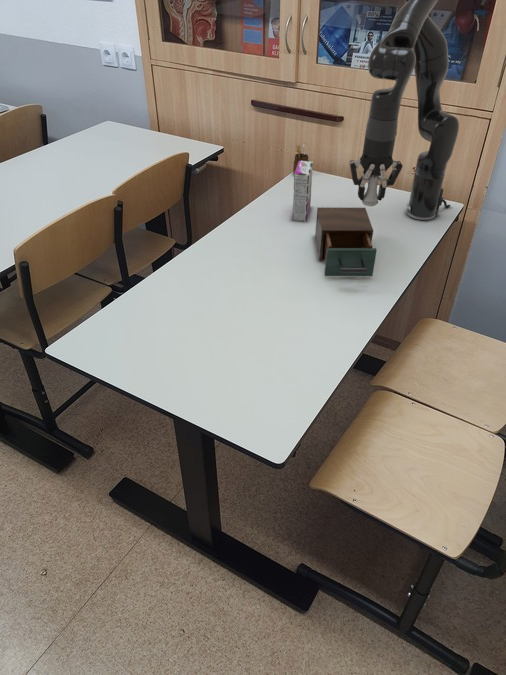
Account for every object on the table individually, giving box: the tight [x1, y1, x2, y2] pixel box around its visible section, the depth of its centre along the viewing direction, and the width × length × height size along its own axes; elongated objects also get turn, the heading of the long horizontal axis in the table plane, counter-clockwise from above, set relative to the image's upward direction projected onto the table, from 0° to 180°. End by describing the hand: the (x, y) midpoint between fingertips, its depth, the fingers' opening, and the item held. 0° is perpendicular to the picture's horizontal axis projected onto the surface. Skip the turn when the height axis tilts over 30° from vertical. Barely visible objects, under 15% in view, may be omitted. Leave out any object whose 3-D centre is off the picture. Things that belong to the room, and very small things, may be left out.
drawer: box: [323, 233, 377, 277], centre depth 150 cm, size 19×13×8 cm
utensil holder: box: [292, 144, 309, 174], centre depth 205 cm, size 6×6×12 cm
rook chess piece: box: [361, 175, 380, 207], centre depth 143 cm, size 4×4×8 cm
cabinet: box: [314, 207, 374, 262], centre depth 160 cm, size 15×15×10 cm
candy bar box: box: [292, 160, 314, 222], centre depth 176 cm, size 11×5×16 cm, turn 168°
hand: (370, 198), depth 145 cm, fingers closed on rook chess piece, 4 cm apart
